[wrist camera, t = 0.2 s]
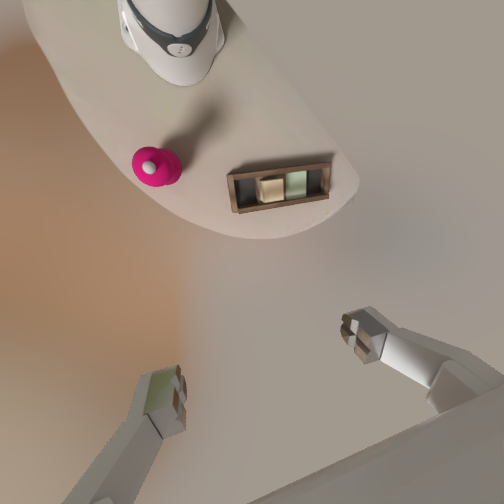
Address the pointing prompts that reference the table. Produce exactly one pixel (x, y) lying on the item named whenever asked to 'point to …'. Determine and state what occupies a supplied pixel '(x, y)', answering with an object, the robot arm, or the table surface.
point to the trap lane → (294, 186)
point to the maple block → (271, 190)
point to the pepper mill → (156, 166)
